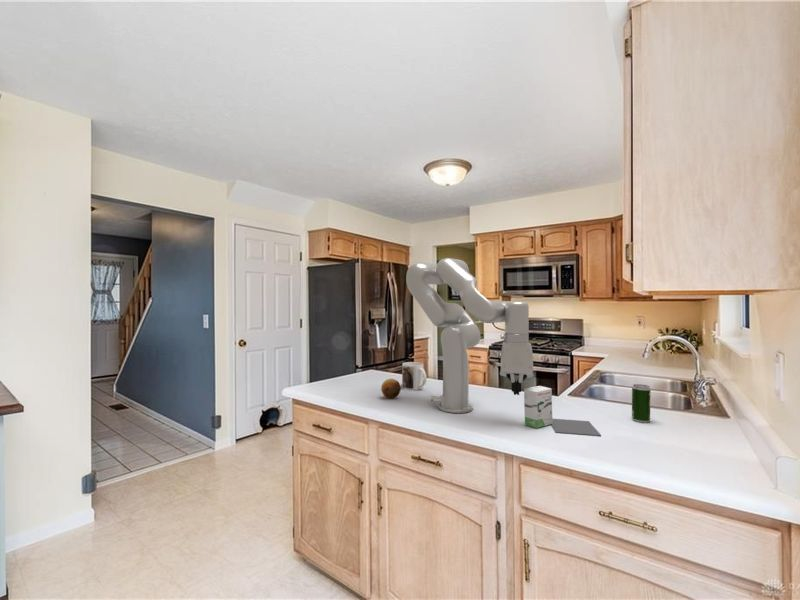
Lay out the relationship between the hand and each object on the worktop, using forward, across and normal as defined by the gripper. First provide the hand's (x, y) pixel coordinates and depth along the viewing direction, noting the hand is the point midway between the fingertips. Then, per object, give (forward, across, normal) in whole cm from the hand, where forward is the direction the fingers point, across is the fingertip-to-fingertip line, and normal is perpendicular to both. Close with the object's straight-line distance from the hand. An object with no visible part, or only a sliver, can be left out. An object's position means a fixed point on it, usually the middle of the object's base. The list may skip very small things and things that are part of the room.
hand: (516, 393), depth 128 cm
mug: (+10, -42, +41) cm, 59 cm away
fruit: (+10, -48, +21) cm, 53 cm away
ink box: (+10, +7, 0) cm, 12 cm away
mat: (+10, +18, 0) cm, 20 cm away
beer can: (+10, +42, +13) cm, 45 cm away
